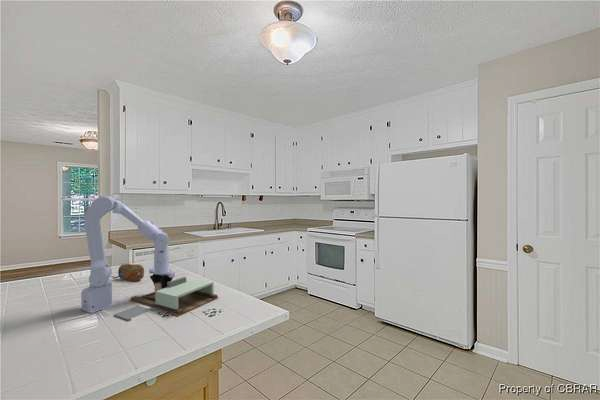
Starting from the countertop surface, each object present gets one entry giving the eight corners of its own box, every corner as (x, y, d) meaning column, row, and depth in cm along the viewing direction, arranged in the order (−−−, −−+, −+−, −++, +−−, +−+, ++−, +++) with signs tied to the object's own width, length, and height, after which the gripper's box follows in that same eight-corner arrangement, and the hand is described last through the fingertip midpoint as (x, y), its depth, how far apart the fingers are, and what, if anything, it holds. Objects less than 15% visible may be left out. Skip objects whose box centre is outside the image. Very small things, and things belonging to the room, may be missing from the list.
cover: (176, 309, 102) (175, 291, 102) (155, 303, 108) (155, 286, 107) (213, 293, 118) (213, 277, 118) (193, 289, 124) (193, 273, 124)
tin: (117, 279, 145) (117, 263, 145) (123, 278, 148) (122, 262, 148) (140, 282, 140) (140, 265, 140) (145, 280, 143) (145, 264, 143)
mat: (128, 321, 97) (128, 319, 97) (113, 315, 101) (113, 314, 101) (152, 311, 105) (152, 309, 105) (138, 307, 109) (138, 305, 109)
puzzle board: (177, 316, 100) (177, 312, 100) (129, 301, 115) (129, 298, 115) (218, 298, 118) (218, 294, 118) (171, 287, 132) (171, 284, 132)
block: (160, 296, 117) (160, 284, 117) (154, 294, 119) (154, 283, 119) (169, 293, 121) (168, 281, 121) (163, 291, 123) (163, 280, 123)
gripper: (180, 260, 120) (181, 291, 120) (159, 256, 127) (159, 286, 127) (166, 264, 114) (166, 296, 114) (144, 260, 120) (144, 291, 121)
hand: (162, 291), depth 120 cm, fingers closed on block, 4 cm apart
